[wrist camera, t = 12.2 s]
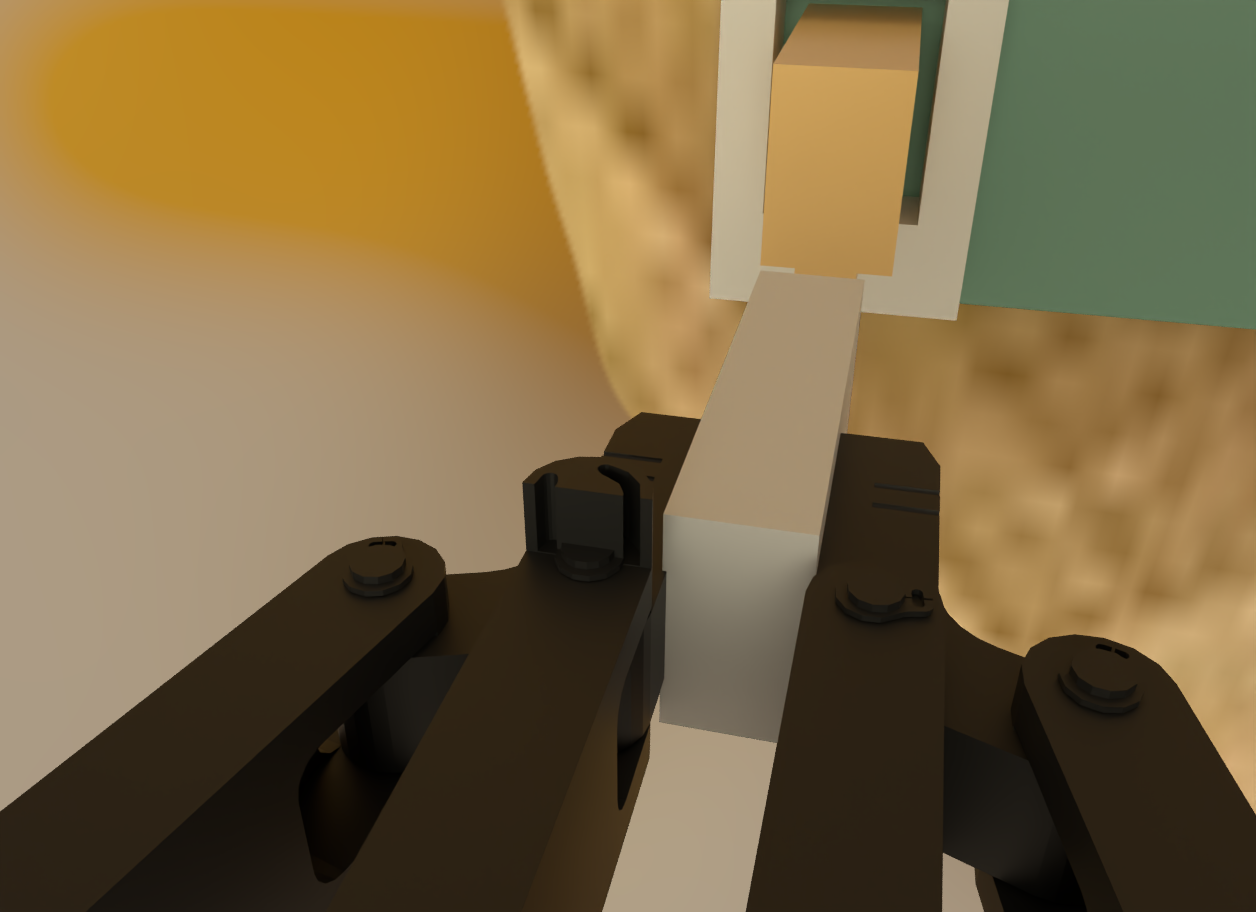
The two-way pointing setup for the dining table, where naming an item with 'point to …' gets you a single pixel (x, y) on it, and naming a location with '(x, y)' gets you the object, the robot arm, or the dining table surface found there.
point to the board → (1036, 158)
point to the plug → (840, 139)
